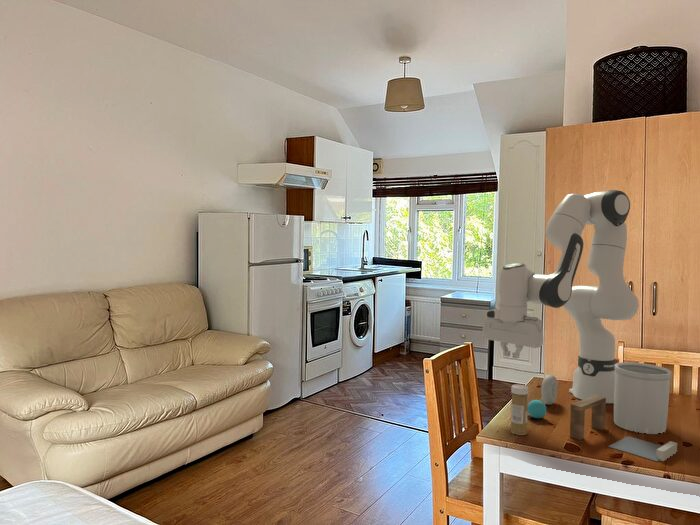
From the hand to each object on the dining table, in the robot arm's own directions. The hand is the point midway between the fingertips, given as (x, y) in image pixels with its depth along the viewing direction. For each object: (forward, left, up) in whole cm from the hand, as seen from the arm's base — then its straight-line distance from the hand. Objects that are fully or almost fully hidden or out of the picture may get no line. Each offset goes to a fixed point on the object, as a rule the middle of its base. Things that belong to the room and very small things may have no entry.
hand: (511, 357), depth 170 cm
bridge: (0, +26, -17) cm, 31 cm away
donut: (-16, +5, -17) cm, 24 cm away
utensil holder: (-18, +33, -17) cm, 41 cm away
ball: (0, +10, -14) cm, 17 cm away
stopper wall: (0, +46, -17) cm, 49 cm away
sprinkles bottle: (+16, +14, -17) cm, 27 cm away
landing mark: (0, +40, -17) cm, 44 cm away
